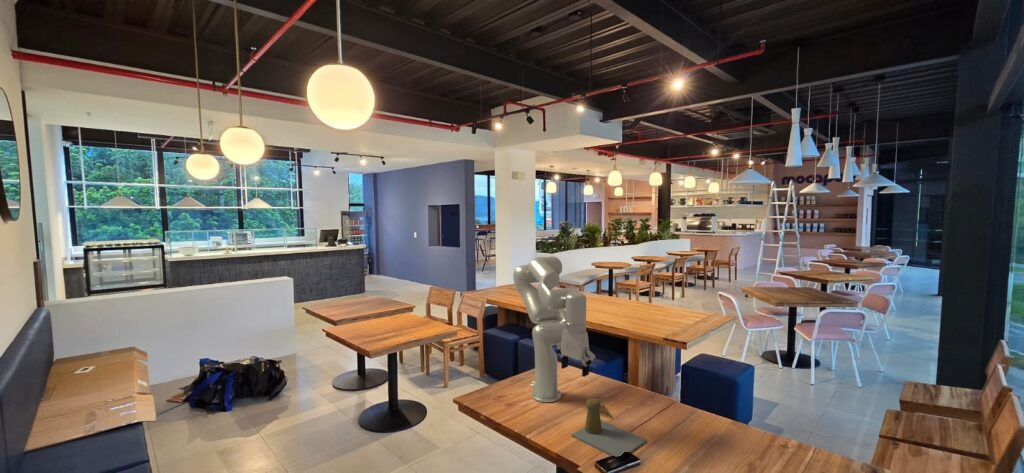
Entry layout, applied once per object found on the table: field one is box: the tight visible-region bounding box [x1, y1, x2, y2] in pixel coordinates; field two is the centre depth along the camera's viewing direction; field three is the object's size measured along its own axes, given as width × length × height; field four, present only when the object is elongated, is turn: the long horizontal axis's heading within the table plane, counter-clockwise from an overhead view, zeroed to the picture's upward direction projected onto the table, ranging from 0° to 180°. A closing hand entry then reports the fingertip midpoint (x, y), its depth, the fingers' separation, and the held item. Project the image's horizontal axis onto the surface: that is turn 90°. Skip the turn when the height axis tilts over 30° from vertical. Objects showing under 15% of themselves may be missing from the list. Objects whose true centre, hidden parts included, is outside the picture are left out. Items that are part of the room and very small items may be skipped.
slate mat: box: [570, 419, 648, 457], centre depth 146 cm, size 20×16×1 cm
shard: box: [599, 403, 613, 419], centre depth 165 cm, size 11×8×2 cm
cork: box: [584, 398, 602, 434], centre depth 151 cm, size 6×6×11 cm
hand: (574, 371), depth 157 cm, fingers open, 9 cm apart
